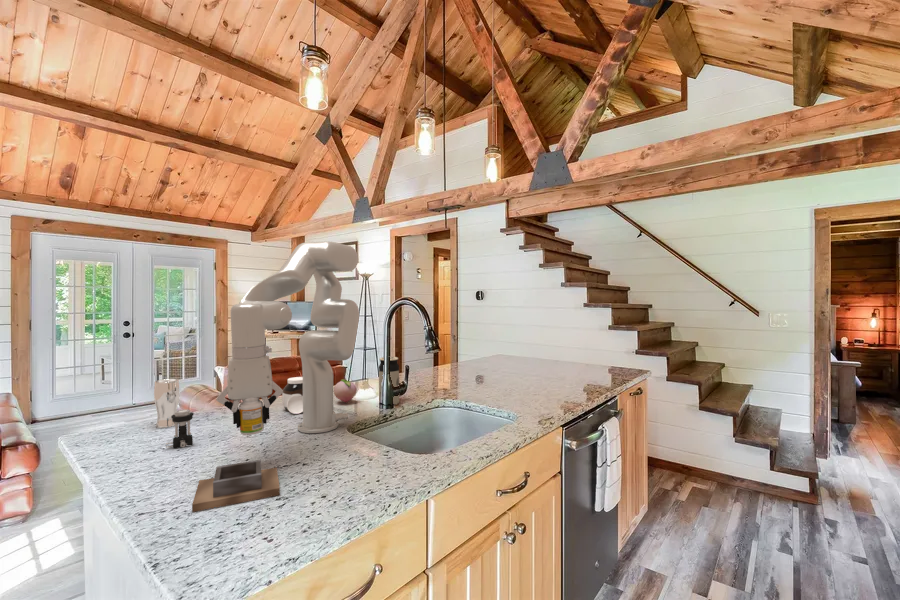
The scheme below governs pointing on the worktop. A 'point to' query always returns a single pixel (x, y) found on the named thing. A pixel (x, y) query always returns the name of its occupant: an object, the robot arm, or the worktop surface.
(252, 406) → the supplement bottle
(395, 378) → the travel mug
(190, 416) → the push button
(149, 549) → the worktop surface
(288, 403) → the spread jar
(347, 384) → the decorative fruit
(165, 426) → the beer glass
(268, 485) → the collar board
